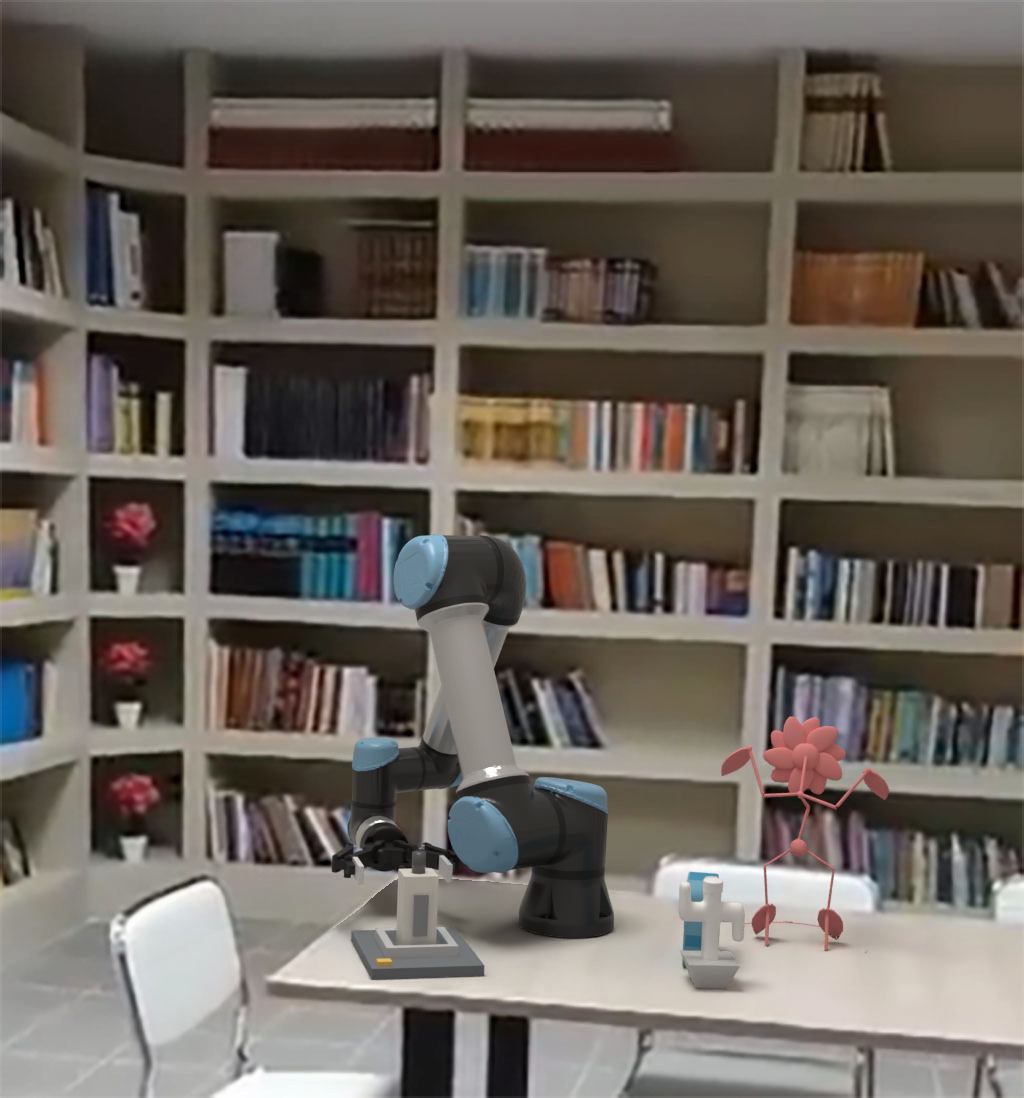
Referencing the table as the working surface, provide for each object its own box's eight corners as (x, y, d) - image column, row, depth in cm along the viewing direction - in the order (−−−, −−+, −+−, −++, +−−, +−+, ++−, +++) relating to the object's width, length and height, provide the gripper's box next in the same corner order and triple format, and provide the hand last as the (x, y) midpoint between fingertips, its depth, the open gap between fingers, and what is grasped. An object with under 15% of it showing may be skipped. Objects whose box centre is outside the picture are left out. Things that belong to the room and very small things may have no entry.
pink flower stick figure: (883, 957, 251) (893, 728, 250) (712, 943, 255) (722, 717, 254) (877, 931, 266) (887, 715, 265) (716, 918, 271) (725, 705, 269)
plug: (429, 942, 244) (432, 848, 244) (436, 953, 239) (440, 856, 238) (395, 943, 243) (399, 848, 243) (402, 954, 237) (406, 857, 237)
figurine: (746, 991, 231) (751, 885, 230) (680, 990, 230) (684, 883, 230) (735, 976, 238) (740, 873, 238) (671, 975, 237) (675, 871, 237)
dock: (455, 937, 253) (455, 918, 253) (484, 975, 233) (484, 954, 233) (351, 940, 249) (351, 920, 249) (371, 979, 230) (372, 958, 229)
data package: (713, 971, 240) (716, 889, 240) (681, 969, 241) (685, 887, 240) (715, 949, 252) (718, 871, 252) (685, 947, 253) (689, 869, 252)
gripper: (455, 865, 273) (485, 897, 253) (305, 868, 267) (322, 901, 247) (457, 820, 273) (487, 848, 253) (306, 822, 267) (324, 851, 247)
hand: (405, 874), depth 250 cm, fingers open, 13 cm apart
